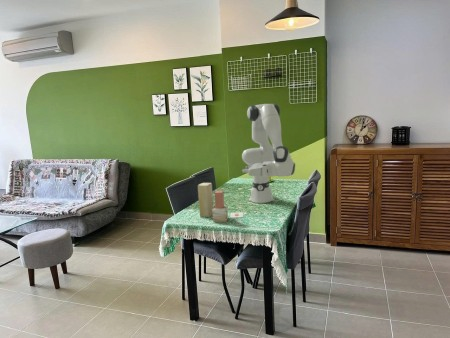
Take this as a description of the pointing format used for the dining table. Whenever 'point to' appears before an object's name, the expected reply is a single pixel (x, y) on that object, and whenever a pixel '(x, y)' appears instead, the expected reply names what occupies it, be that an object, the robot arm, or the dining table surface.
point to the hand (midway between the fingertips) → (243, 169)
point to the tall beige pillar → (205, 199)
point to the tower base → (219, 219)
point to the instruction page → (236, 215)
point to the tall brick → (219, 199)
